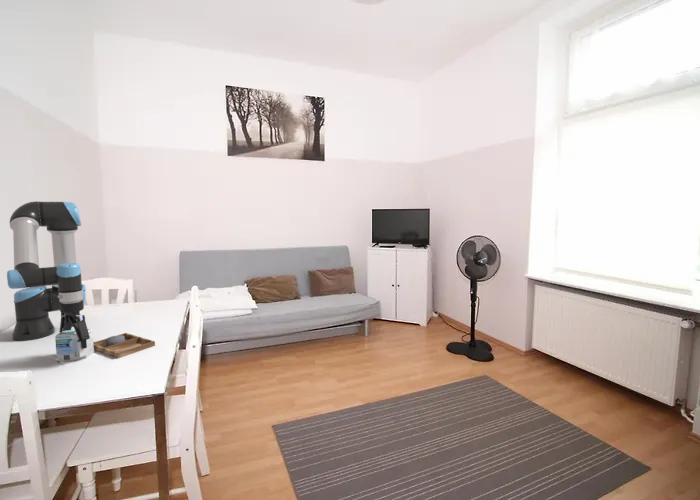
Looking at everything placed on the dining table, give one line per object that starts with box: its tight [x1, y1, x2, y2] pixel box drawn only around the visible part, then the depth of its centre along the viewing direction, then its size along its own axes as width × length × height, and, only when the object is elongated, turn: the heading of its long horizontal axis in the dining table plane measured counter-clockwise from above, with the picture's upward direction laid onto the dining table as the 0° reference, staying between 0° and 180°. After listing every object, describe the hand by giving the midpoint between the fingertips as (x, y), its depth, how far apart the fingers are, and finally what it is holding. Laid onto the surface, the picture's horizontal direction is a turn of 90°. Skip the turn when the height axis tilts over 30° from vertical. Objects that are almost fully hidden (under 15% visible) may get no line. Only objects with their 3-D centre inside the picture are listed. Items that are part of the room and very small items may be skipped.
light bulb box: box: [54, 328, 95, 362], centre depth 143 cm, size 11×7×11 cm, turn 105°
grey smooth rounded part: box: [105, 334, 125, 347], centre depth 156 cm, size 7×7×3 cm
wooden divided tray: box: [93, 332, 156, 359], centre depth 153 cm, size 22×16×2 cm
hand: (75, 352), depth 143 cm, fingers closed on light bulb box, 12 cm apart
